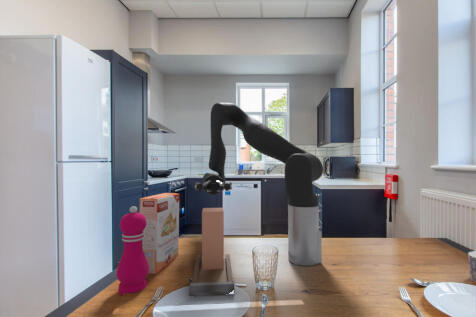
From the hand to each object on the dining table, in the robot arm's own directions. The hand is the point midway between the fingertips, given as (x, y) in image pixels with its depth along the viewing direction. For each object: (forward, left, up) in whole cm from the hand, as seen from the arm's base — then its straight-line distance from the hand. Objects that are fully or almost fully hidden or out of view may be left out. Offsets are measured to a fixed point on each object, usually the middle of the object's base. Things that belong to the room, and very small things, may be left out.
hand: (213, 188), depth 83 cm
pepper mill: (+19, +20, -22) cm, 36 cm away
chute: (0, +15, -22) cm, 27 cm away
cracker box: (+16, +6, -22) cm, 28 cm away
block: (0, +9, -21) cm, 23 cm away
